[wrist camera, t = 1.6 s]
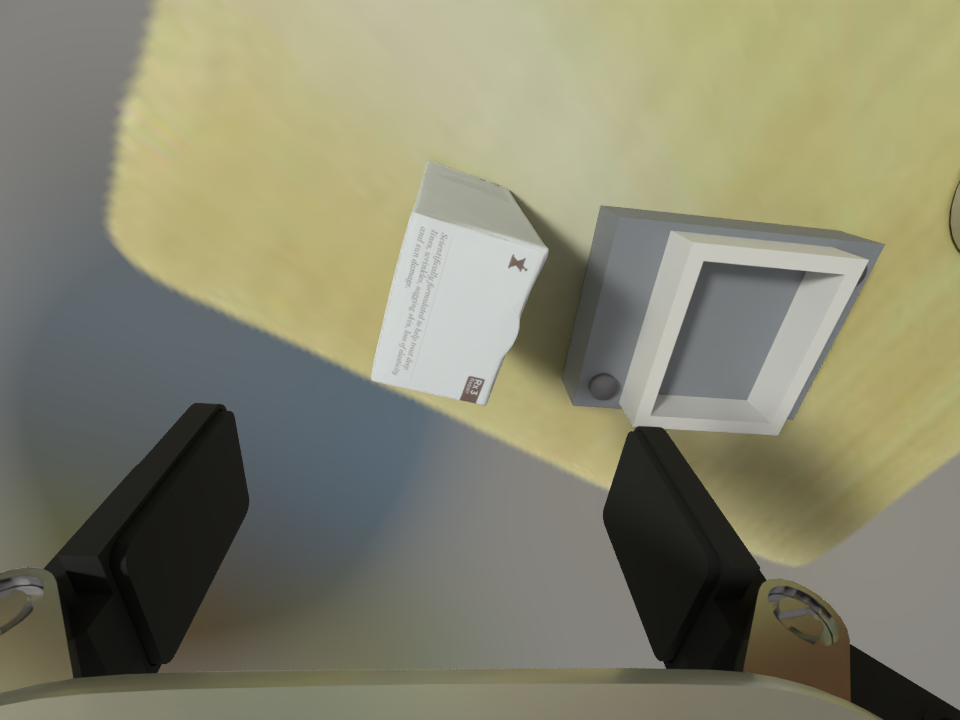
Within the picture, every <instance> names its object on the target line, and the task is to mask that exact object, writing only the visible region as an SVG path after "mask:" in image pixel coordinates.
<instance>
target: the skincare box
mask: <svg viewBox="0 0 960 720" xmlns="http://www.w3.org/2000/svg"><path fill="white" fill-rule="evenodd" d="M548 254H549V249H548V248H547V247H546V246H545V245H544V243H543V242H542V240H541V239H540V237H539V236H538V234H537V233H536V231H535V230H534V228H533V227H532V225H531V224H530V222H529V220H528V219H527V218H526V216H525V215H524V213H523V211H522V210H521V208H520V207H519V205H518V204H517V202H516V201H515V199H514V198H513V196H512V194H511V193H510V191H509V190H508V188H506V187H504V186H501V185H498V184H495V183H492V182H490V181H487V180H484V179H481V178H478V177H475V176H472V175H469V174H466V173H463V172H460V171H457V170H455V169H452V168H449V167H446V166H443V165H440V164H437V163H434V162H431V161H428V162H427V164H426V167H425V171H424V175H423V178H422V182H421V185H420V189H419V192H418V196H417V199H416V202H415V205H414V208H413V211H412V213H411V216H410V219H409V223H408V226H407V230H406V233H405V237H404V240H403V244H402V247H401V251H400V254H399V258H398V262H397V266H396V270H395V274H394V278H393V282H392V286H391V290H390V294H389V298H388V302H387V307H386V311H385V315H384V319H383V324H382V328H381V332H380V336H379V341H378V345H377V349H376V354H375V359H374V363H373V368H372V374H371V379H372V381H376V382H380V383H384V384H388V385H392V386H397V387H401V388H406V389H410V390H415V391H420V392H425V393H429V394H433V395H438V396H443V397H447V398H452V399H456V400H462V401H467V402H472V403H476V404H480V405H483V406H485V405H486V404H487V402H488V399H489V397H490V394H491V391H492V389H493V386H494V383H495V380H496V378H497V375H498V373H499V370H500V367H501V365H502V363H503V360H504V358H505V355H506V353H507V352H508V351H509V349H510V348H511V347H512V346H513V344H514V342H515V340H516V338H517V335H518V332H519V328H520V318H521V315H522V312H523V310H524V307H525V305H526V302H527V300H528V298H529V295H530V292H531V290H532V288H533V286H534V284H535V281H536V279H537V277H538V275H539V273H540V271H541V270H542V268H543V266H544V264H545V261H546V259H547V257H548Z"/></svg>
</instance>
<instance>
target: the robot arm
mask: <svg viewBox="0 0 960 720" xmlns="http://www.w3.org/2000/svg"><path fill="white" fill-rule="evenodd" d="M951 229H952V235H953V239H954V241H955V243H956V245H957V247H958V249H959V250H960V183H959V185H958V188H957V190H956V193H955V197H954V201H953V205H952V211H951ZM248 506H249V495H248V490H247V484H246V478H245V473H244V467H243V462H242V456H241V450H240V445H239V439H238V433H237V428H236V423H235V417H234V414H233V413H232V412H231V411H227V410H226V408H225V406H224V405H222V404H205V403H194V404H193V405H191V406H190V407H189V408H188V410H187V411H186V412H185V413H184V414H183V415H182V416H181V417H180V418H179V420H178V421H177V422H176V423H175V424H174V425H173V426H172V428H171V429H170V430H169V431H168V432H167V433H166V434H165V435H164V436H163V438H162V439H161V440H160V441H159V442H158V443H157V444H156V446H155V447H154V448H153V449H152V450H151V451H150V452H149V453H148V455H147V456H146V457H145V458H144V459H143V460H142V461H141V462H140V463H139V464H138V465H137V466H136V467H135V468H133V470H132V471H131V472H130V473H129V474H128V475H127V476H126V477H125V479H124V480H123V481H122V482H121V483H120V484H119V485H118V486H117V488H116V489H115V490H114V491H113V492H112V493H111V494H110V495H109V496H108V498H107V499H106V500H105V501H104V502H103V503H102V504H101V506H100V507H99V508H98V509H97V510H96V511H95V512H94V513H93V514H92V515H91V516H90V518H89V519H88V520H87V521H86V522H85V523H84V524H83V525H82V527H81V528H80V529H79V530H78V531H77V532H76V533H75V534H74V535H73V537H72V538H71V539H70V540H69V541H68V542H67V543H66V545H65V546H64V547H63V548H62V549H61V550H60V551H59V552H58V553H57V554H56V556H55V557H54V558H53V559H52V560H51V561H50V562H49V563H48V565H47V566H46V567H45V568H44V569H42V568H32V567H26V568H19V569H12V570H9V571H5V572H2V573H0V720H960V711H959V710H958V709H956V708H954V707H953V706H951V705H950V704H948V703H946V702H945V701H943V700H941V699H940V698H938V697H937V696H935V695H933V694H931V693H930V692H928V691H927V690H925V689H923V688H922V687H920V686H918V685H917V684H915V683H913V682H912V681H910V680H908V679H907V678H905V677H903V676H902V675H900V674H899V673H897V672H895V671H894V670H892V669H890V668H889V667H887V666H885V665H884V664H882V663H880V662H879V661H877V660H875V659H874V658H872V657H871V656H869V655H867V654H866V653H864V652H862V651H861V650H859V649H857V648H856V647H854V646H852V645H851V644H850V639H849V635H848V631H847V628H846V626H845V624H844V622H843V621H842V619H841V617H840V616H839V615H838V614H837V613H836V611H835V610H834V609H833V608H832V607H831V605H829V604H828V603H827V602H826V601H825V600H823V599H822V598H821V597H820V596H819V595H817V594H816V593H814V592H812V591H811V590H809V589H808V588H806V587H804V586H802V585H799V584H797V583H795V582H793V581H788V580H784V579H769V580H766V579H765V578H764V576H763V574H762V573H761V572H760V570H759V569H760V567H759V565H758V564H757V562H756V561H755V559H754V558H753V557H752V555H751V554H750V552H749V551H748V549H747V548H746V546H745V545H744V544H743V542H742V541H741V539H740V538H739V536H738V535H737V533H736V532H735V531H734V529H733V528H732V526H731V525H730V523H729V522H728V520H727V519H726V518H725V516H724V515H723V513H722V512H721V510H720V509H719V507H718V506H717V505H716V503H715V502H714V500H713V499H712V497H711V496H710V494H709V493H708V492H707V490H706V489H705V487H704V486H703V484H702V483H701V481H700V480H699V479H698V477H697V476H696V474H695V473H694V471H693V470H692V468H691V467H690V466H689V464H688V463H687V461H686V460H685V458H684V457H683V455H682V454H681V453H680V451H679V450H678V448H677V447H676V445H675V444H674V442H673V441H672V440H671V438H670V437H669V435H668V434H667V432H666V431H665V430H664V429H663V428H662V427H651V426H638V427H637V428H636V429H635V430H634V431H631V432H629V433H628V435H627V438H626V441H625V444H624V447H623V451H622V454H621V457H620V460H619V463H618V466H617V469H616V472H615V475H614V478H613V482H612V485H611V488H610V491H609V494H608V498H607V501H606V503H605V507H604V510H603V520H604V524H605V527H606V530H607V533H608V535H609V538H610V540H611V543H612V546H613V548H614V551H615V553H616V556H617V559H618V561H619V563H620V567H621V569H622V572H623V574H624V577H625V579H626V582H627V585H628V587H629V590H630V593H631V595H632V598H633V600H634V603H635V606H636V608H637V611H638V613H639V616H640V619H641V621H642V624H643V626H644V629H645V631H646V634H647V637H648V639H649V642H650V645H651V647H652V650H653V652H654V655H655V656H656V658H657V659H658V660H659V661H663V662H664V664H665V667H666V669H637V668H608V669H607V668H603V669H602V668H591V669H590V668H586V669H585V668H579V669H578V668H574V669H573V668H569V669H568V668H565V669H562V668H561V669H560V668H558V669H384V670H379V669H378V670H295V671H294V670H291V671H219V672H183V673H157V672H158V670H159V668H160V666H161V664H167V663H168V662H170V661H171V660H172V659H173V657H174V655H175V654H176V652H177V649H178V648H179V646H180V644H181V642H182V640H183V638H184V636H185V634H186V632H187V630H188V628H189V626H190V624H191V622H192V620H193V618H194V616H195V614H196V612H197V610H198V608H199V606H200V604H201V602H202V601H203V598H204V596H205V595H206V593H207V591H208V589H209V587H210V585H211V582H212V581H213V579H214V576H215V575H216V573H217V571H218V569H219V567H220V565H221V563H222V561H223V559H224V557H225V555H226V553H227V551H228V549H229V547H230V545H231V543H232V541H233V539H234V537H235V535H236V534H237V532H238V530H239V528H240V525H241V524H242V522H243V520H244V518H245V516H246V513H247V511H248Z"/></svg>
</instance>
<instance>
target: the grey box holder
mask: <svg viewBox="0 0 960 720" xmlns="http://www.w3.org/2000/svg"><path fill="white" fill-rule="evenodd" d="M884 245H885V244H882V243H878V242H875V241H872V240H868V239H865V238H862V237H858V236H855V235H851V234H848V233H845V232H841V231H836V230H827V229H817V228H808V227H798V226H789V225H780V224H770V223H761V222H751V221H742V220H732V219H723V218H714V217H704V216H695V215H685V214H676V213H667V212H657V211H648V210H638V209H629V208H620V207H610V206H600V211H599V215H598V220H597V224H596V229H595V233H594V238H593V242H592V247H591V251H590V256H589V260H588V264H587V269H586V273H585V278H584V282H583V287H582V291H581V296H580V300H579V305H578V309H577V314H576V318H575V323H574V327H573V332H572V336H571V341H570V345H569V350H568V354H567V359H566V363H565V368H564V372H563V377H562V380H563V382H564V385H565V387H566V390H567V392H568V395H569V397H570V400H571V402H572V404H573V406H587V407H602V408H618V409H623V411H624V413H625V414H626V416H627V418H628V420H629V421H630V423H631V425H632V427H638V426H651V427H662V428H663V429H678V430H695V431H712V432H729V433H746V434H762V435H779V433H780V431H781V429H782V427H783V425H784V423H785V421H786V419H792V420H793V418H794V416H795V414H796V413H797V411H798V409H799V407H800V405H801V403H802V401H803V399H804V397H805V395H806V394H807V392H808V390H809V388H810V386H811V384H812V382H813V380H814V378H815V376H816V375H817V373H818V371H819V369H820V367H821V365H822V363H823V361H824V359H825V357H826V356H827V354H828V352H829V350H830V348H831V346H832V344H833V342H834V340H835V338H836V337H837V335H838V333H839V331H840V329H841V327H842V325H843V323H844V321H845V319H846V318H847V316H848V314H849V312H850V310H851V308H852V306H853V304H854V302H855V300H856V299H857V297H858V295H859V293H860V291H861V289H862V287H863V285H864V283H865V281H866V280H867V278H868V276H869V274H870V272H871V270H872V268H873V266H874V264H875V262H876V261H877V259H878V257H879V255H880V253H881V251H882V249H883V247H884Z"/></svg>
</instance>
